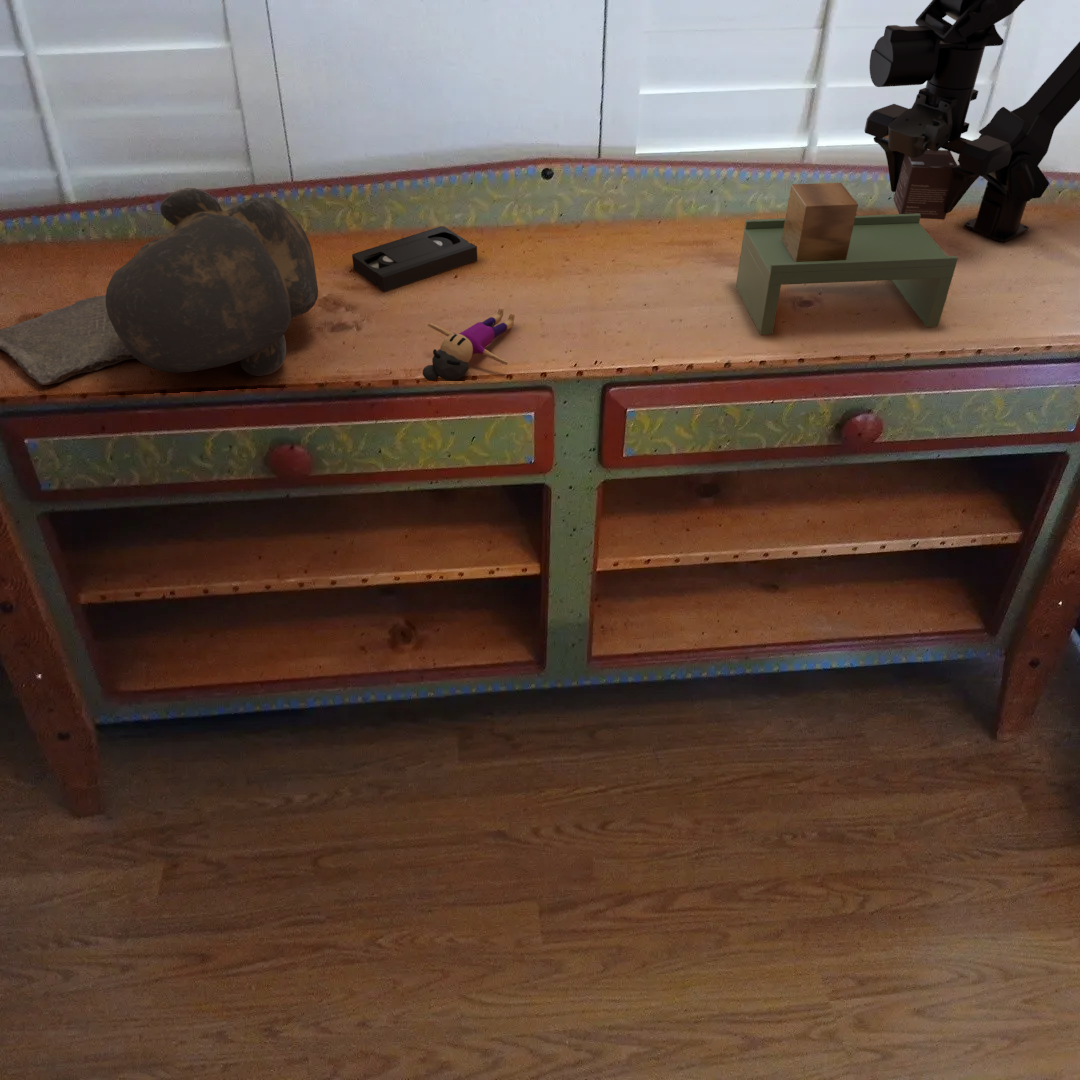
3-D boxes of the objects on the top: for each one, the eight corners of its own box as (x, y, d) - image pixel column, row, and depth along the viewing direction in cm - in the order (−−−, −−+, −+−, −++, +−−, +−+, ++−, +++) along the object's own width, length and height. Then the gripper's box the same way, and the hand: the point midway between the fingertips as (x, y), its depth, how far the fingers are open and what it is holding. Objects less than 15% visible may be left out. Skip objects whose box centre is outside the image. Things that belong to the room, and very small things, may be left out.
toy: (547, 324, 125) (488, 365, 113) (535, 364, 128) (476, 409, 116) (472, 287, 127) (406, 324, 115) (461, 327, 130) (396, 367, 118)
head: (250, 151, 125) (49, 239, 117) (310, 136, 106) (76, 240, 98) (328, 314, 135) (146, 407, 126) (395, 327, 116) (187, 437, 108)
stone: (173, 330, 121) (51, 384, 113) (178, 352, 123) (58, 406, 115) (93, 278, 129) (-27, 325, 121) (99, 299, 131) (-18, 346, 123)
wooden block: (829, 239, 128) (841, 182, 124) (845, 262, 124) (858, 204, 119) (781, 240, 128) (791, 184, 123) (795, 264, 123) (806, 206, 118)
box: (937, 202, 147) (951, 149, 142) (945, 221, 142) (960, 167, 137) (892, 200, 147) (904, 147, 142) (898, 219, 143) (912, 165, 138)
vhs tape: (443, 239, 145) (442, 225, 143) (477, 260, 140) (476, 246, 139) (352, 268, 138) (350, 254, 137) (384, 292, 133) (383, 277, 132)
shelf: (902, 279, 138) (919, 213, 132) (938, 326, 129) (958, 257, 123) (735, 286, 136) (745, 219, 130) (760, 335, 127) (771, 265, 121)
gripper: (850, 75, 135) (827, 194, 145) (978, 117, 124) (943, 242, 135) (904, 58, 140) (878, 173, 151) (1031, 97, 130) (994, 219, 140)
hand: (920, 201), depth 144 cm, fingers closed on box, 8 cm apart
